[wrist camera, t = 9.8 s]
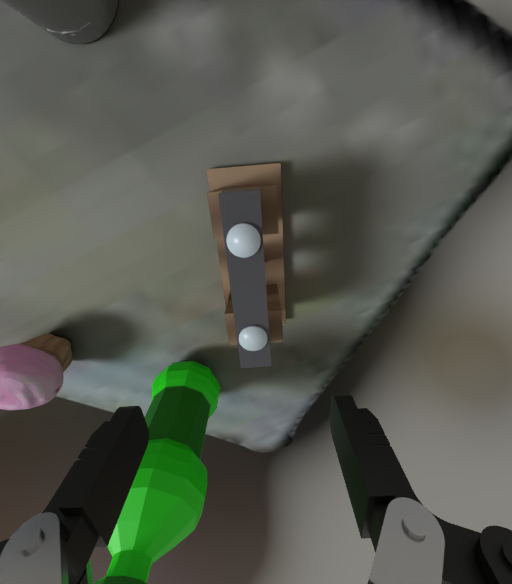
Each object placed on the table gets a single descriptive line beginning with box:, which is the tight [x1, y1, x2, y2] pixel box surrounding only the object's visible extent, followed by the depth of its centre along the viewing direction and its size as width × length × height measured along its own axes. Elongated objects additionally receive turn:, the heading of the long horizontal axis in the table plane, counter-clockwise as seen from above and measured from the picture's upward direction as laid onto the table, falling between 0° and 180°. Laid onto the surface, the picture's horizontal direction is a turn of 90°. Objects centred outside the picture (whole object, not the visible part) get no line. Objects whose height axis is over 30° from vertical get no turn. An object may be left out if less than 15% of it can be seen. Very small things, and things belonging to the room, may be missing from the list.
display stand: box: [206, 163, 286, 345], centre depth 29 cm, size 20×8×8 cm, turn 4°
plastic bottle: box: [96, 361, 220, 584], centre depth 30 cm, size 10×10×25 cm
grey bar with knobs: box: [218, 188, 271, 368], centre depth 23 cm, size 16×3×4 cm, turn 4°
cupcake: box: [0, 334, 73, 410], centre depth 34 cm, size 9×9×10 cm
